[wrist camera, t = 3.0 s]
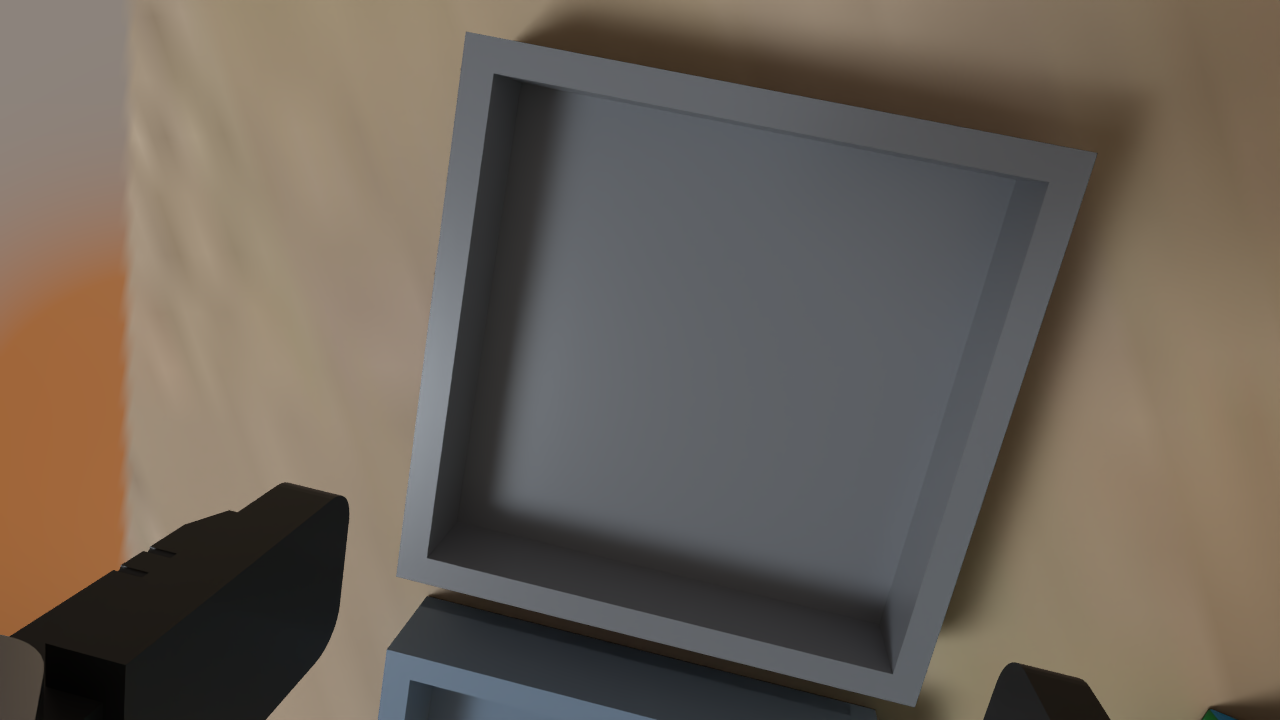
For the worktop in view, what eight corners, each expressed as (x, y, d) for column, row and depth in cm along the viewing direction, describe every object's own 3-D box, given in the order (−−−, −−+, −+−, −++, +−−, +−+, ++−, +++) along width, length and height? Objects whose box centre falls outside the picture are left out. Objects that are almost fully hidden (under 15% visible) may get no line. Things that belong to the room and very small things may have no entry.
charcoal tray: (1050, 154, 21) (1097, 152, 18) (896, 643, 25) (915, 707, 22) (503, 48, 22) (465, 31, 19) (436, 530, 26) (396, 576, 23)
